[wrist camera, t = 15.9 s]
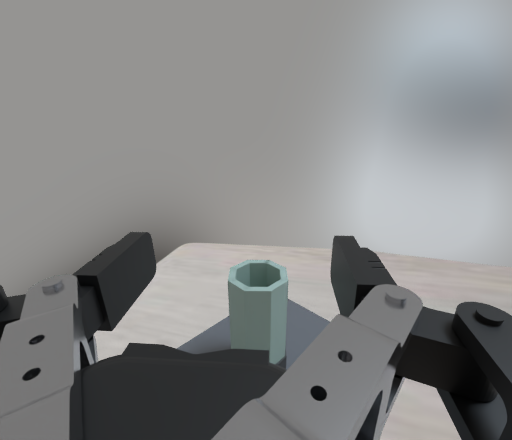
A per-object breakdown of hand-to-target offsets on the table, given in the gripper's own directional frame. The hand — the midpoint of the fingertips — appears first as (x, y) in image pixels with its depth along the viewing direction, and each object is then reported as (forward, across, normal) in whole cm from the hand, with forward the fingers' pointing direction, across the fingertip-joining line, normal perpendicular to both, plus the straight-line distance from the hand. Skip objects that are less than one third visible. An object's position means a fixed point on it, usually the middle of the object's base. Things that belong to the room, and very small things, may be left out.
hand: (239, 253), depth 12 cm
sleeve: (+10, 0, +19) cm, 21 cm away
